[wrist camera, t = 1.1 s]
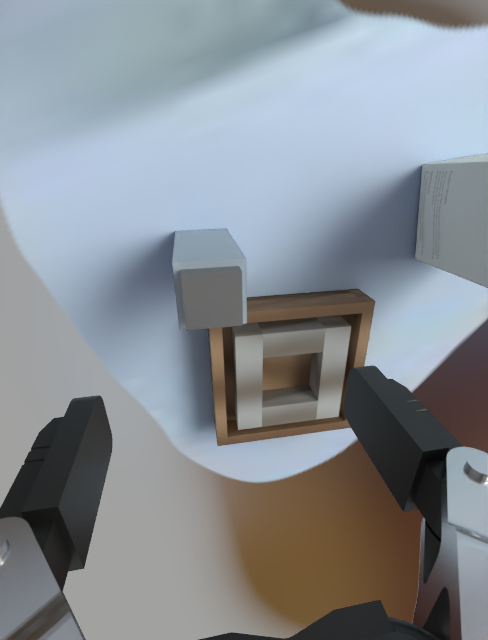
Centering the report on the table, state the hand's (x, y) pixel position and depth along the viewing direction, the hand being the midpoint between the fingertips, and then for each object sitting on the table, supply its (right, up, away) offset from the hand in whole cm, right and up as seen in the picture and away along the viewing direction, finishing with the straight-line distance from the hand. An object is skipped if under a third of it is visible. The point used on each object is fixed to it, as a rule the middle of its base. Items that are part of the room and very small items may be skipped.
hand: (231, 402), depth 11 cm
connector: (-3, +8, +16) cm, 18 cm away
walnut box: (+4, -1, +22) cm, 22 cm away
